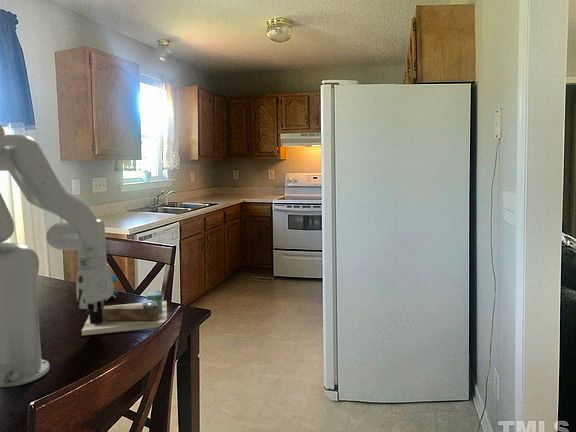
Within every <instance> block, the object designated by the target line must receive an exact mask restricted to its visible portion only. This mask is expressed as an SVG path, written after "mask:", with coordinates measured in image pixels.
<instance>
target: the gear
mask: <svg viewBox="0 0 576 432" xmlns="http://www.w3.org/2000/svg"><path fill="white" fill-rule="evenodd" d="M111 276H112V282H113V283H115V282H116V281H117V278H118V276H117V275H115V274H113V275H111ZM117 294H118V291H117V290H116V289H114V288H113V295H112V296H111V297H113V298H114V299H115V298H116V297H117Z"/></svg>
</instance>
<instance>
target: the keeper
mask: <svg viewBox="0 0 576 432" xmlns="http://www.w3.org/2000/svg"><path fill="white" fill-rule="evenodd" d="M146 292H147V293H146V301H153V300H154V301H155V302H156V304H157V305H158V307H159V313H162V301H163V298H162V295H163V294H162V290H154V291H152V290H151V291H146Z"/></svg>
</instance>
